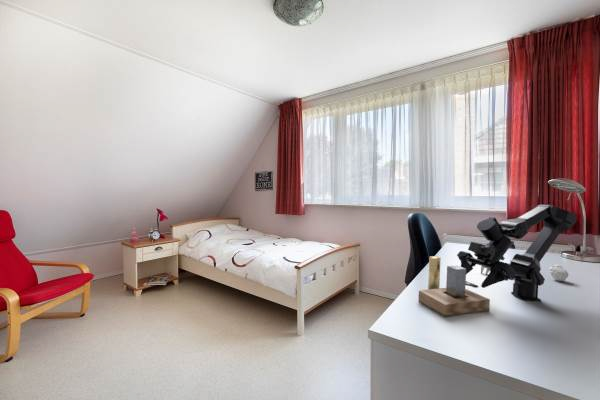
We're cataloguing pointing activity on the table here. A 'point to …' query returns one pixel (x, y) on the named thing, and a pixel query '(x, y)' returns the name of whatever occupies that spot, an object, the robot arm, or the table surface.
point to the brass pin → (434, 272)
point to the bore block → (453, 302)
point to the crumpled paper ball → (558, 272)
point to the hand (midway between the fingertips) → (470, 282)
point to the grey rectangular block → (456, 281)
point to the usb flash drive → (471, 284)
